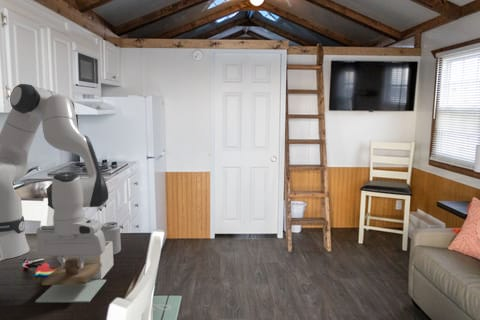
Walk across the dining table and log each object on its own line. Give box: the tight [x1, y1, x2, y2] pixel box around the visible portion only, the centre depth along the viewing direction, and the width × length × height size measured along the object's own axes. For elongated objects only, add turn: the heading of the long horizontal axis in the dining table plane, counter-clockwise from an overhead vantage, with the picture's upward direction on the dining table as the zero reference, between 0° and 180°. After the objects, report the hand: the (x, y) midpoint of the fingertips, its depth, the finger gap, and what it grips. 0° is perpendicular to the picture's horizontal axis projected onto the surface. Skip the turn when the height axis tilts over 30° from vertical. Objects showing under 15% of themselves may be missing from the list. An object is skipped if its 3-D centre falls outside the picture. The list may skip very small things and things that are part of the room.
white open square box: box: [64, 241, 114, 280], centre depth 129 cm, size 12×12×9 cm
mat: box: [34, 279, 107, 303], centre depth 116 cm, size 16×14×1 cm
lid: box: [41, 258, 102, 286], centre depth 115 cm, size 13×13×5 cm
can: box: [100, 221, 122, 256], centre depth 147 cm, size 8×8×12 cm
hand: (72, 268), depth 115 cm, fingers closed on lid, 3 cm apart
